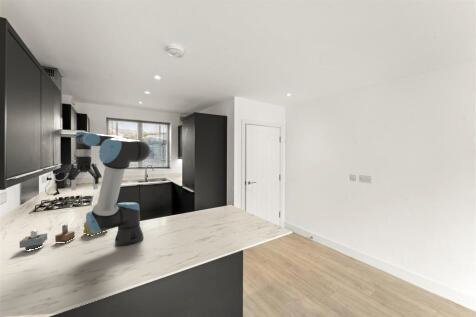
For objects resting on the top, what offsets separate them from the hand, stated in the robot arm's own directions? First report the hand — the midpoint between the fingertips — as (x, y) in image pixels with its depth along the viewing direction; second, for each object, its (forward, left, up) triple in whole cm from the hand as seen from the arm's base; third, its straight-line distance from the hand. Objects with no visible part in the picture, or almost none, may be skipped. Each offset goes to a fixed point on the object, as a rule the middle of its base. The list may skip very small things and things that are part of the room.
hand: (84, 189), depth 123 cm
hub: (+22, +10, -32) cm, 40 cm away
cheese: (+2, -12, -32) cm, 34 cm away
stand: (+12, +1, -32) cm, 34 cm away
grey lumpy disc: (+22, +10, -29) cm, 38 cm away
